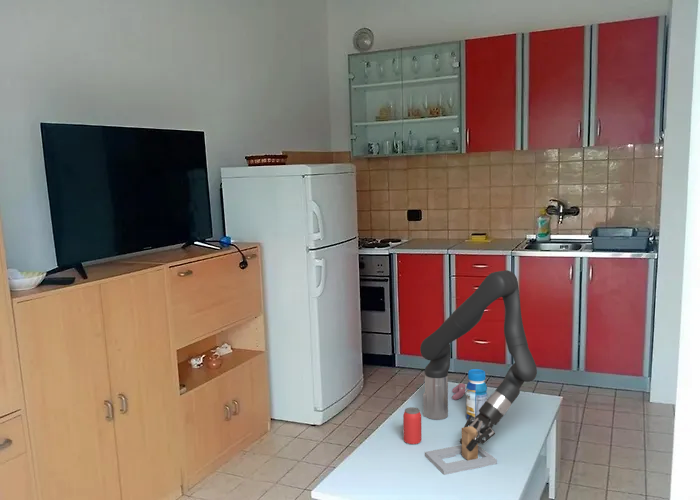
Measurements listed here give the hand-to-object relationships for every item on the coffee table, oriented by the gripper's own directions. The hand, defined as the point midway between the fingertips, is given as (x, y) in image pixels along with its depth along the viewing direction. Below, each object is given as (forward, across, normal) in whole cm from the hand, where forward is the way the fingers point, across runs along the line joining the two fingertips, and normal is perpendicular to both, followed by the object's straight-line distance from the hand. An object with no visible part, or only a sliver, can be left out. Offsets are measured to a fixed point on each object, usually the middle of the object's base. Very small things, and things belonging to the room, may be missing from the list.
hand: (464, 446), depth 199 cm
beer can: (+11, -19, -4) cm, 22 cm away
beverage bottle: (-12, -27, +18) cm, 34 cm away
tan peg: (+2, 0, +4) cm, 5 cm away
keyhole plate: (+4, 0, +2) cm, 5 cm away
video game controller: (-16, -52, +23) cm, 59 cm away
